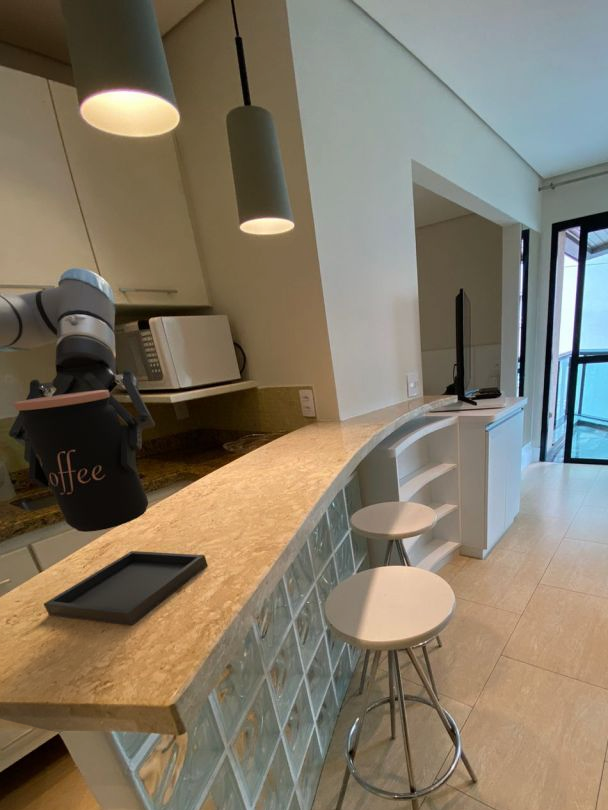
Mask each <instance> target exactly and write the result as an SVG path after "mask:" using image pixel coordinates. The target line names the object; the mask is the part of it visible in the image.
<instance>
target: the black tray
mask: <svg viewBox="0 0 608 810" xmlns="http://www.w3.org/2000/svg"><path fill="white" fill-rule="evenodd" d="M206 567H208V561H207V558H206V555H205V554H193V553H192V554H191V553H176V552H175V553H174V552H157V551H138V550H131V551H129V552H127V553H126V554H124V555H123V556H121V557H119V558H117V559H116V560H114V561H112V562H111V563H109V564H108V565H105V566H104V567H102V568H101V569H98V571H96V572H94V573H93V574H90V575H89V576H88V577H86V578H84V579H82V580H81V581H79V582H78V583H76V584H74V585H73V586H70V587H69V588H67V589H65V590H64V591H62V592H61V593H59V594H58V595H56V596H54V597H52V598H50V599H49V600H47V601H46V602H44V603H43V607H44V609H45V610H46V612H47V614H48V616H53V617H62V618H70V619H78V620H85V621H93V622H103V623H110V624H118V625H123V626H125V625H126V626H134V625H135V624H136V623H137V622H139V621H140V620H141V619H142V618H143V617H145V616H146V615H147V614H148V613H150V612H151V611H152V610H153V609H155V608H156V607H158V605H160V604H161V603H162V602H164V601H165V600H166V599H168V597H170V596H171V595H172V594H173V593H175V592H176V591H178V590H179V589H180V588H181V587H183V586H184V585H185V584H186V583H187V582H189V581H190V580H191V579H192V578H194V577H195V576H197V574H199V573H200V572H201V571H203V570H204V569H205V568H206Z"/></svg>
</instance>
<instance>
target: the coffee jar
mask: <svg viewBox="0 0 608 810" xmlns="http://www.w3.org/2000/svg"><path fill="white" fill-rule="evenodd" d="M109 397H110V394H109V391H108V390H96V391H87V392H79V393H71V394H63V395H56V396H49V397H42V398H36V399H30V400H26V399H24V400H19V401H15V402H13V403H12V405H13V407H14V409H15V411H18V413H19V412H20V413H22V414H23V416H24V418H23V420H22V426H23V428H24V430H25V432H26V435H27V437H28V439H29V441H30V443H31V446H32V448H33V450H34V452H35V454H36V457H37V459H38V461H39V463H40V465H41V468H42V470H43V472H44V474H45V476H46V479H47V481H48V486H49V488H50V490H51V492H52V494H53V496H54V498H55V501H56V503H57V505H58V507H59V510H60V512H61V514H62V516H63V518H64V520H65V522H66V524H67V525H68V526H69V527H71V528H73V529H75V530H76V531H78V532H83V533H89V532H90V533H91V532H98V531H104V530H108V529H111V528H115V527H119V526H122V525H124V524H128V523H130V522H132V521H134V520H137V519H138V518H140V517H141V516H143V515H144V514H145V513H146V511H147V508H148V506H149V500H148V497H147V493H146V490H145V487H144V485H143V483H142V480H141V477H140V474H139V472H138V469H137V467H136V473H133V474H130V473H129V472H128V471H127V470H126V469H125V468H124V467H123V466H122V465H121V425H122V424H121V421H120V417H119V416H118V415H117V412H116V410H115V408H114V407H113V406H112V405H110V404H109V402H108V400H109Z"/></svg>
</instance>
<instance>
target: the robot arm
mask: <svg viewBox="0 0 608 810" xmlns="http://www.w3.org/2000/svg"><path fill="white" fill-rule="evenodd" d="M57 284H58V285H57V286H56V287H51V288H46V289H42V290H38V291H34V292H28V293H23V294H14V295H13V294H7V293H2V292H0V351H1V352H4V353H5V352H6V353H12V352H20V351H29V350H32V349H33V348H39V347H42V346H46V345H51V344H55V343H56V347H55V359H54V361H55V362H54V365H55V372H56V374H55V377H54V378H53V380H52V381H50V382H43V383H42V382H41V381H39V380H38V379H32V380H31V381H30V382H29V392H28V394H27V396H26V398H25V400H30V399H36V398H42V397H49V396H56V395H63V394H71V393H79V392H87V391H96V390H108V391H109V394H110V397H109V400H108V402H109V404H110V405H112V406H113V407H114V408H115V410H116V412H117V415H118V418H119V419H121V420H122V422H124V424H121V465H122V466H123V467H124V468H125V469H126V470H127V471H128V472H129V473H130V474H133V473H136V468H137V461H136V458H137V457H136V451H140V450H142V448H143V443H142V441H143V439H142V432H143V431H144V430H145V429H153V428H154V427H155V426H156V423H155V421H154V419H153V417H152V415H151V413H150V411H149V409H148V408H147V405H146V404H145V401H144V399H143V398H142V395H141V393H140V392H139V381H138V379H137V378H136V376H135V374H134V373H133V372H132V371H131V369H123V371H122V374H121V373H120V374H117V373H116V372H117V370H116V357H117V356H116V334H115V319H116V313H117V308H116V304H115V297H114V292H113V289H112V287H111V286H110V284H109V283H108V281H106V280H105V279H104V278H103V277H102V276H101V275H99V274H97V273H95V272H94V271H92V270H89V269H85V268H78V267H75V268H70V269H69V268H68V269H67V270H65V271H64V272H62V274H61V276H60V278H59V281H58V282H57ZM119 385H120V387H122V389H125V390H126V393H127V395H128V396H129V399H130V401H131V402H132V405H133V407H134V408H135V411H136V412H137V413H136V414H137V415H138V416H136V417H134V415H132V414H131V413H130V412H129V411H128V410H127V409H126V408H125V407H124V406H123V405H122V404H121V402H119V401H118V400H117V399H116V398H115V397H114V396H113V394H112V393H113V392H114V391H115V390H116V389H117V387H118V386H119ZM23 418H24V416H23V414H22V413H20V412H19V411H18V414H17V416H16V418H15V420H14V421H13V424H12V426H11V428H10V429H9V431H8V436H10V438H12V439H13V440H15V441H16V442H17V443H18V444H20V445H21V446H23V447H24V453H23V459H24V461H25V462H26V463H28V464H29V467H28V479H27V480H29V481H31V482H32V483H34V484H36V486H38V487H40V488H41V489H45V488H49V483H48V481H47V479H46V476H45V474H44V472H43V470H42V468H41V465H40V463H39V461H38V459H37V457H36V454H35V452H34V450H33V448H32V446H31V443H30V441H29V439H28V437H27V435H26V432H25V430H24V428H23V426H22V420H23Z"/></svg>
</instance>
